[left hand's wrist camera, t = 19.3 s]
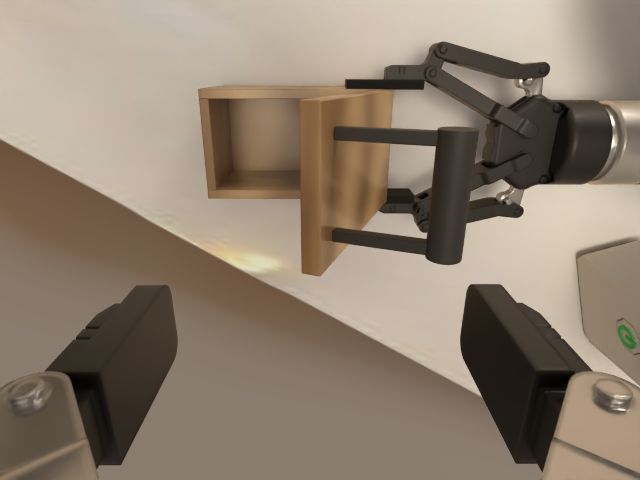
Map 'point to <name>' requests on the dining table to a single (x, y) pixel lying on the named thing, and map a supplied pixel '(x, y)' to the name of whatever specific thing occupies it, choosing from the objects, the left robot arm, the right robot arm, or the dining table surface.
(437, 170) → the lid
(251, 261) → the dining table surface
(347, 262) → the dining table surface
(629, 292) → the electronic device
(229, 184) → the chest
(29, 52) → the dining table surface
